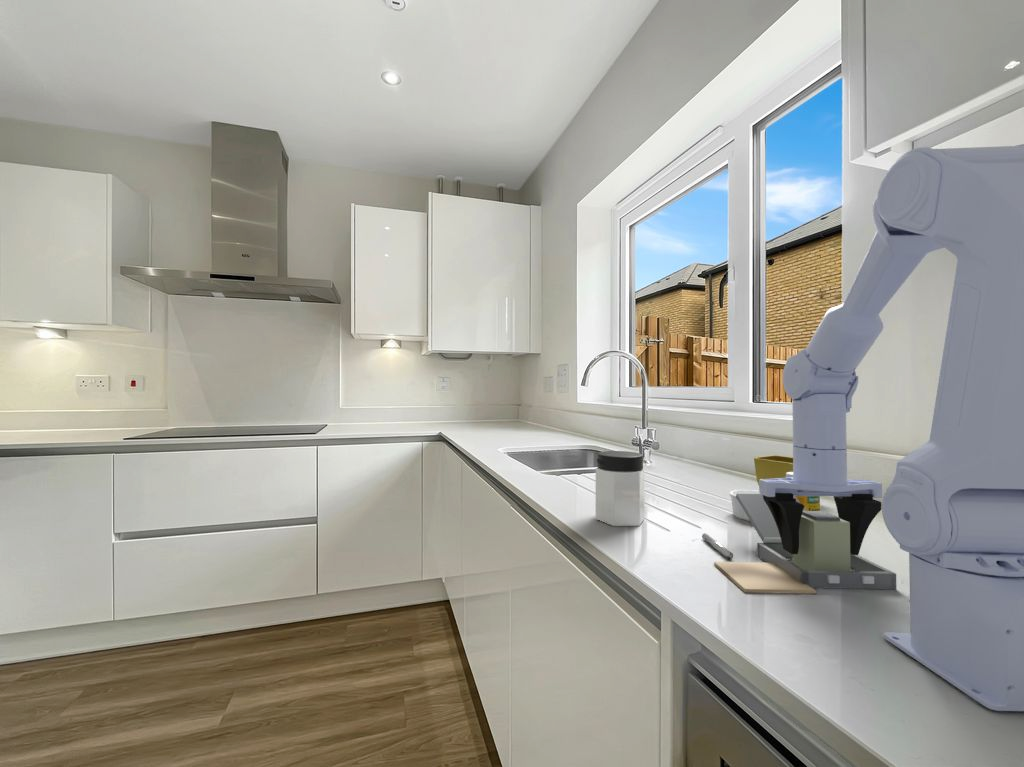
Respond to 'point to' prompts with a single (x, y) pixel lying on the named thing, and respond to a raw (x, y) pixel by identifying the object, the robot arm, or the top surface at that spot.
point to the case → (862, 578)
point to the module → (823, 542)
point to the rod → (717, 546)
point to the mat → (762, 578)
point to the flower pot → (772, 466)
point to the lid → (761, 516)
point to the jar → (620, 488)
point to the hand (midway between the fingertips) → (820, 551)
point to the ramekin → (736, 505)
